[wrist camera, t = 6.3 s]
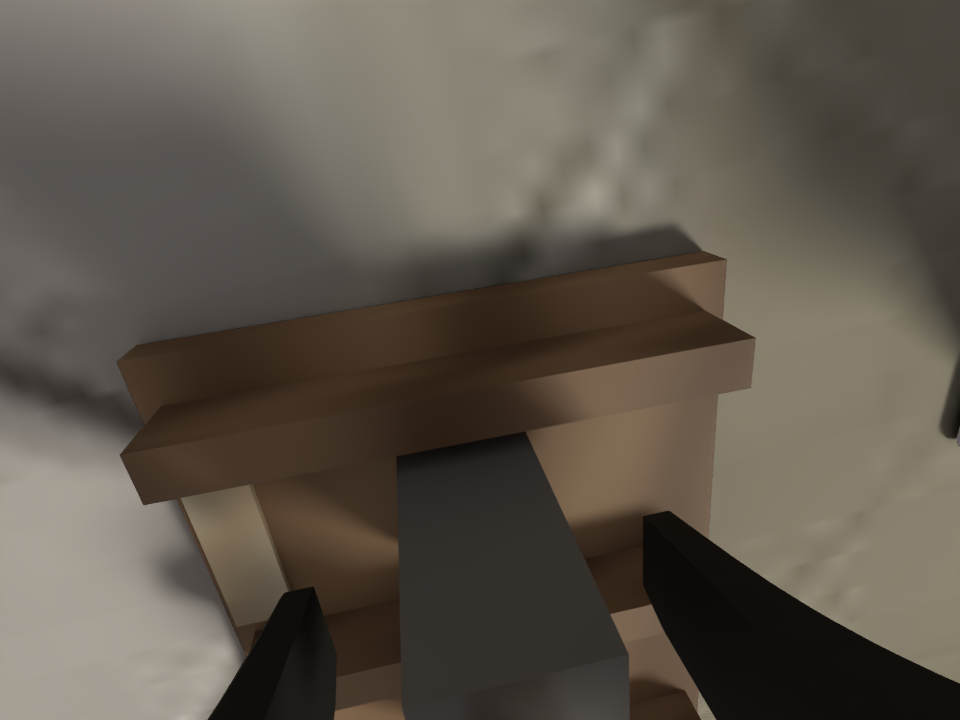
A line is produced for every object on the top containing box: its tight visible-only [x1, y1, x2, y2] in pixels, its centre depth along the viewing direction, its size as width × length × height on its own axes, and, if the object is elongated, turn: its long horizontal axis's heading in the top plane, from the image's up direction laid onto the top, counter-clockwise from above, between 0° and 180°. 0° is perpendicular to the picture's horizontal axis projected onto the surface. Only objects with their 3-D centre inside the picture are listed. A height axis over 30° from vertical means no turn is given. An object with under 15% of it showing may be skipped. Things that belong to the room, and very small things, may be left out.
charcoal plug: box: [396, 432, 630, 720], centre depth 10 cm, size 3×4×8 cm
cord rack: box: [117, 251, 756, 720], centre depth 15 cm, size 14×18×3 cm
